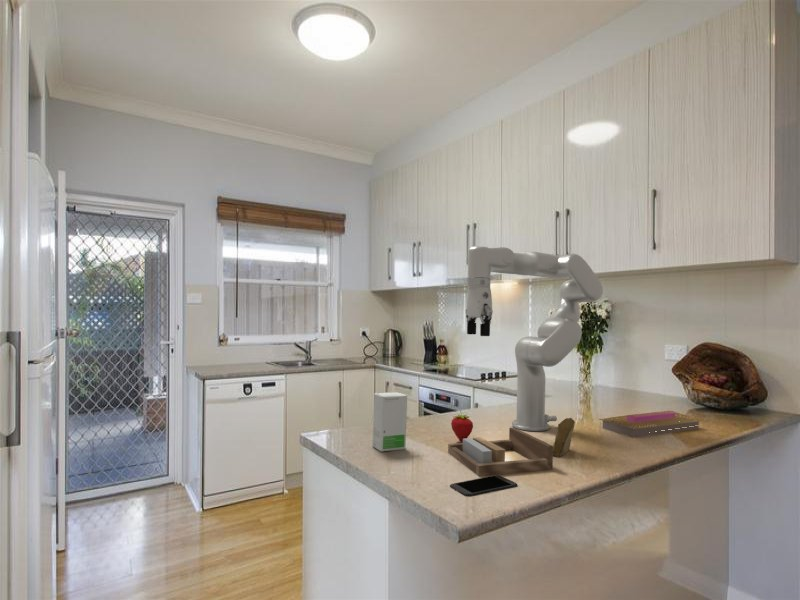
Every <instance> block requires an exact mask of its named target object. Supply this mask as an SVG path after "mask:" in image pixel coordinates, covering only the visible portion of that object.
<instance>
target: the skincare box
mask: <svg viewBox="0 0 800 600" xmlns="http://www.w3.org/2000/svg"><path fill="white" fill-rule="evenodd" d="M407 411H408V395H407V394H404V393H400V392H397V391H396V392H374V393H373V420H372V421H373V422H372V425H373V426H372V447H373V448H375V449H376V450H377V451H379V452H380V453H381V452H388V451H389V452H390V451H398V450H406V448H407V446H406V444H407V443H406V441H407V416H408V415H407Z"/></svg>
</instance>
